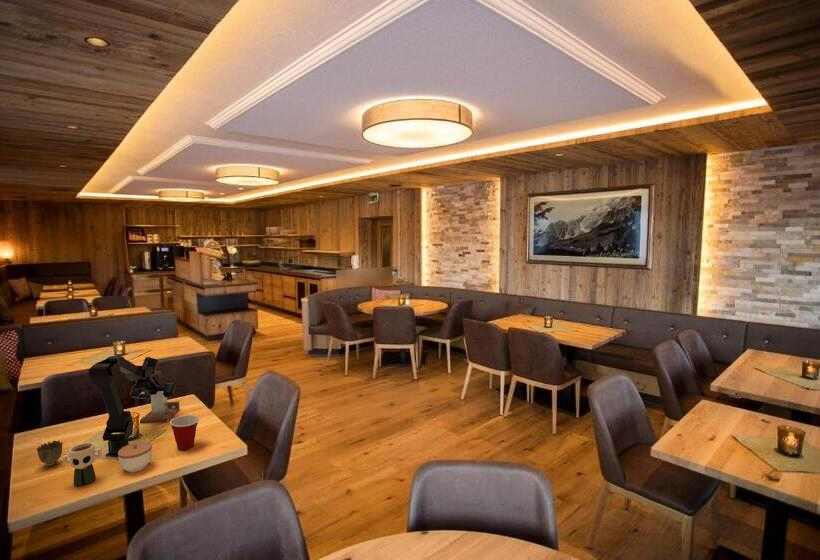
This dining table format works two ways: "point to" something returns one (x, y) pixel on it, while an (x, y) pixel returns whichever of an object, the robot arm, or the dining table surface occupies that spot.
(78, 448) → the character mug
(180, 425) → the plastic cup
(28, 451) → the dining table surface
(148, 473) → the dining table surface
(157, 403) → the grey rectangular block
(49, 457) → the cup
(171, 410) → the brown flat stand
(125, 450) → the lidded jar
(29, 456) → the dining table surface
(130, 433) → the robot arm
